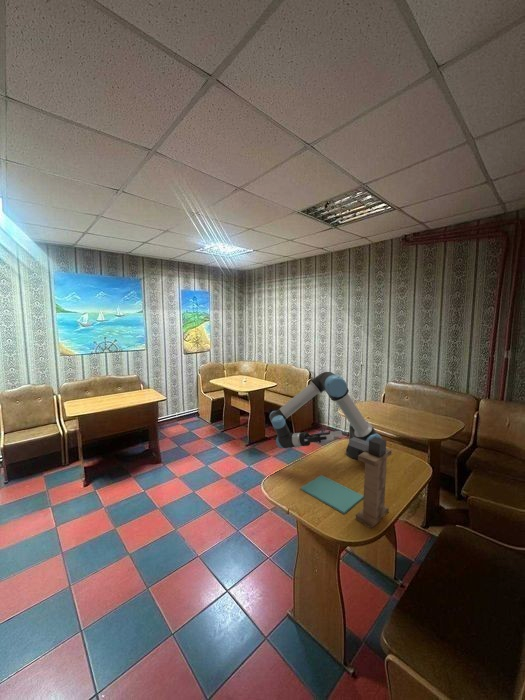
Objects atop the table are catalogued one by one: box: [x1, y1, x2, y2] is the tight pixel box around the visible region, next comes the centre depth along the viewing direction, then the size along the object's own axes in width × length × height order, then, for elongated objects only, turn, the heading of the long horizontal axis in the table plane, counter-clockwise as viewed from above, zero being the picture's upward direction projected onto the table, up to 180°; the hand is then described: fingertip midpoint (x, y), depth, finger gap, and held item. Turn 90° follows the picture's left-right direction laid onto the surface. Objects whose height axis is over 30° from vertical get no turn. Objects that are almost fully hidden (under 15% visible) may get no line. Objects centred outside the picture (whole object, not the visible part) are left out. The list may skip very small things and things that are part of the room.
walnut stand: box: [355, 447, 393, 529], centre depth 129 cm, size 16×8×30 cm, turn 132°
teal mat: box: [300, 474, 364, 515], centre depth 147 cm, size 18×26×1 cm
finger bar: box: [348, 437, 387, 458], centre depth 130 cm, size 6×15×6 cm, turn 42°
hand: (337, 435), depth 151 cm, fingers open, 13 cm apart
